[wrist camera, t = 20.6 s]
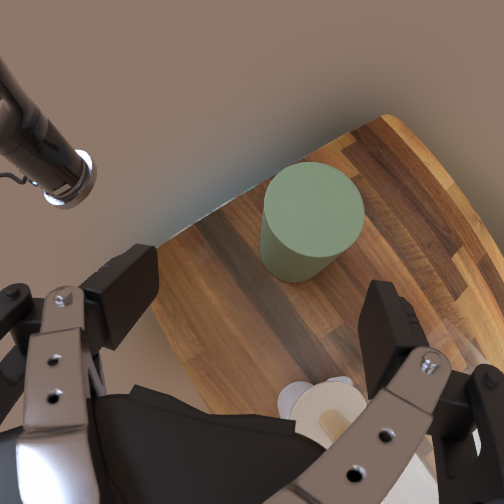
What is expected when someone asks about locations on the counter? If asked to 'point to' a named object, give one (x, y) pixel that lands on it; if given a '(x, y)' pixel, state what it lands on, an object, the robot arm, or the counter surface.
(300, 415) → the lid
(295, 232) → the cylinder
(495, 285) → the counter surface
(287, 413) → the mug
